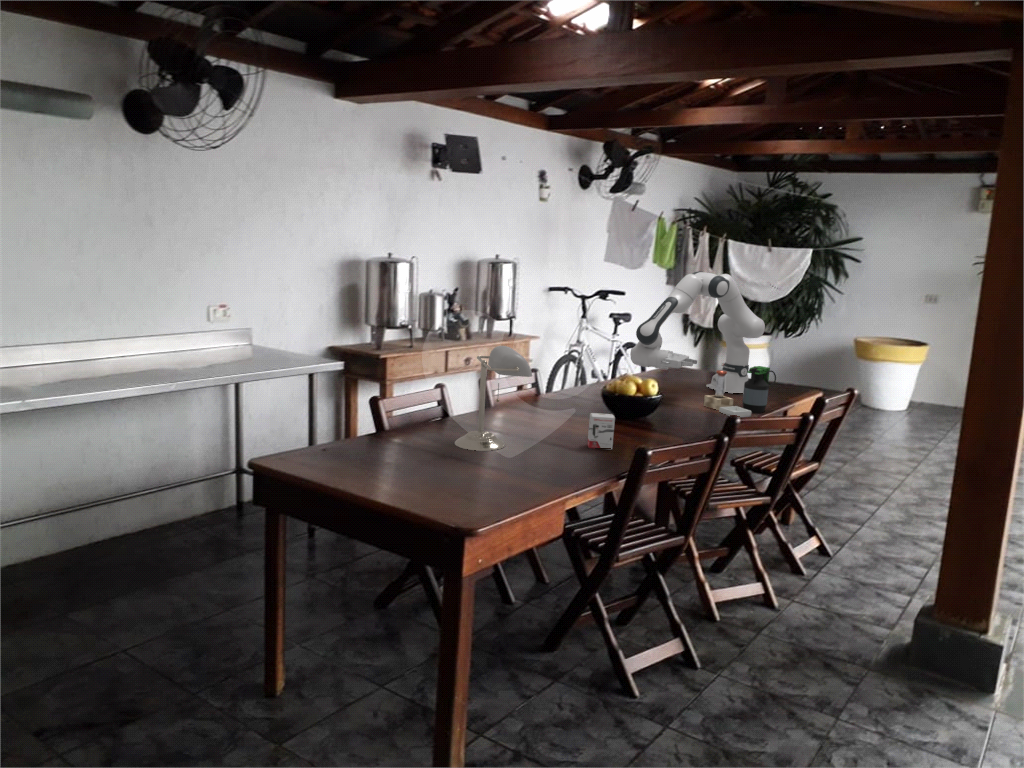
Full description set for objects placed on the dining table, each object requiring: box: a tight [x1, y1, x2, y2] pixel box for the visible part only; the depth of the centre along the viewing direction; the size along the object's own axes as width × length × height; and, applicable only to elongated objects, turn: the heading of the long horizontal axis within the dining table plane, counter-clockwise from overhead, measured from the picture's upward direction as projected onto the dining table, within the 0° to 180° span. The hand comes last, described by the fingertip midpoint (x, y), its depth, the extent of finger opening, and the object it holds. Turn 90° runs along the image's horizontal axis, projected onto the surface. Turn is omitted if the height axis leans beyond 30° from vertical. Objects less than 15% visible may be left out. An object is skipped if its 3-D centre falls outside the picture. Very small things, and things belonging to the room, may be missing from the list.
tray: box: [718, 405, 752, 418], centre depth 351 cm, size 10×10×2 cm
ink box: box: [586, 412, 616, 450], centre depth 284 cm, size 9×5×12 cm, turn 90°
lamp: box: [454, 345, 533, 452], centre depth 278 cm, size 26×24×34 cm
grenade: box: [741, 365, 777, 414], centre depth 361 cm, size 11×13×20 cm
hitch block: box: [703, 394, 734, 411], centre depth 363 cm, size 9×9×5 cm
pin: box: [714, 369, 727, 398], centre depth 361 cm, size 5×5×17 cm
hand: (694, 363), depth 364 cm, fingers open, 8 cm apart
